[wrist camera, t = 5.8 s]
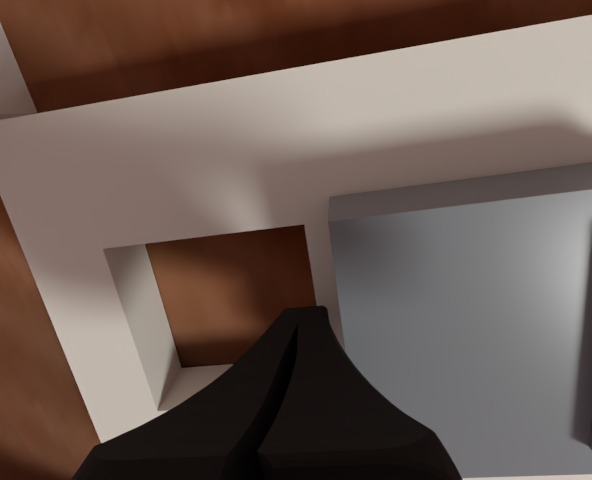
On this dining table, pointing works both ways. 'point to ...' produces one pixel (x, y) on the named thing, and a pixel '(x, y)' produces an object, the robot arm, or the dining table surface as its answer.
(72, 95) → the dining table surface
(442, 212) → the grey slab with nub
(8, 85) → the plug
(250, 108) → the socket plate
